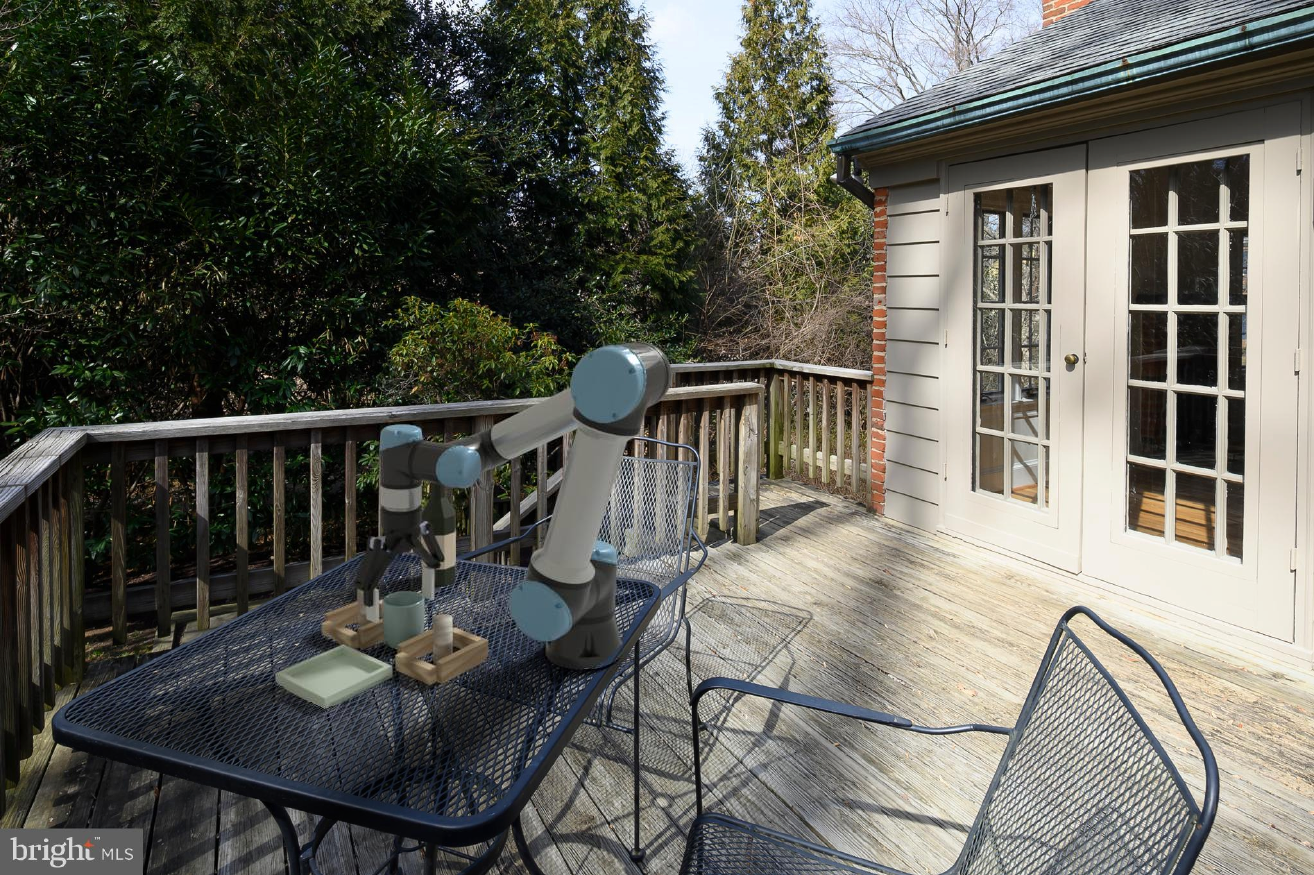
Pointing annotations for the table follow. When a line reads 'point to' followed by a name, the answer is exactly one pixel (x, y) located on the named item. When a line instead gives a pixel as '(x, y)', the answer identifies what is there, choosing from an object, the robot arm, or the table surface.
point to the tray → (334, 676)
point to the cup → (402, 617)
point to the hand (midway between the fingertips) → (401, 608)
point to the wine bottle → (442, 533)
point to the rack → (411, 643)
